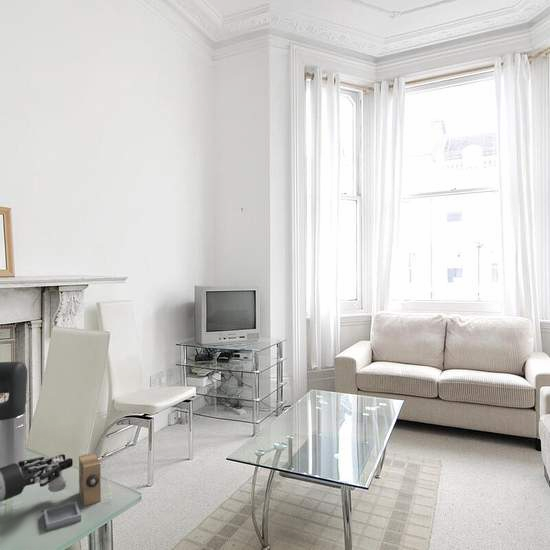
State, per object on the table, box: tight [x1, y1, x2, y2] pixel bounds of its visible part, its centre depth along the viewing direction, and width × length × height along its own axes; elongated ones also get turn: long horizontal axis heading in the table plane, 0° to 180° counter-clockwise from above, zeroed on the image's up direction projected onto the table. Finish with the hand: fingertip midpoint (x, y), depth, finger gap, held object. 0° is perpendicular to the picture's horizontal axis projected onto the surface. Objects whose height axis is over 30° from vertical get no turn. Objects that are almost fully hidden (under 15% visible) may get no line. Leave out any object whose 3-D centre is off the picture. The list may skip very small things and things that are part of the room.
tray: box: [43, 500, 82, 532], centre depth 105 cm, size 7×7×2 cm
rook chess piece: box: [47, 455, 67, 493], centre depth 113 cm, size 4×4×8 cm
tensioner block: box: [78, 452, 102, 507], centre depth 114 cm, size 9×4×10 cm, turn 33°
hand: (67, 459), depth 115 cm, fingers closed on rook chess piece, 3 cm apart
